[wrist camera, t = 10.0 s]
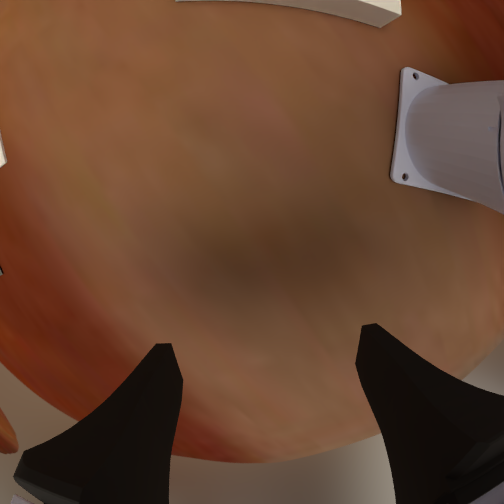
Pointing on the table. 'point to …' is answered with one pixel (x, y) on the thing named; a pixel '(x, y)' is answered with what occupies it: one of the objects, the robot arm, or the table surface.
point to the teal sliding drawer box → (2, 160)
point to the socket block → (344, 8)
